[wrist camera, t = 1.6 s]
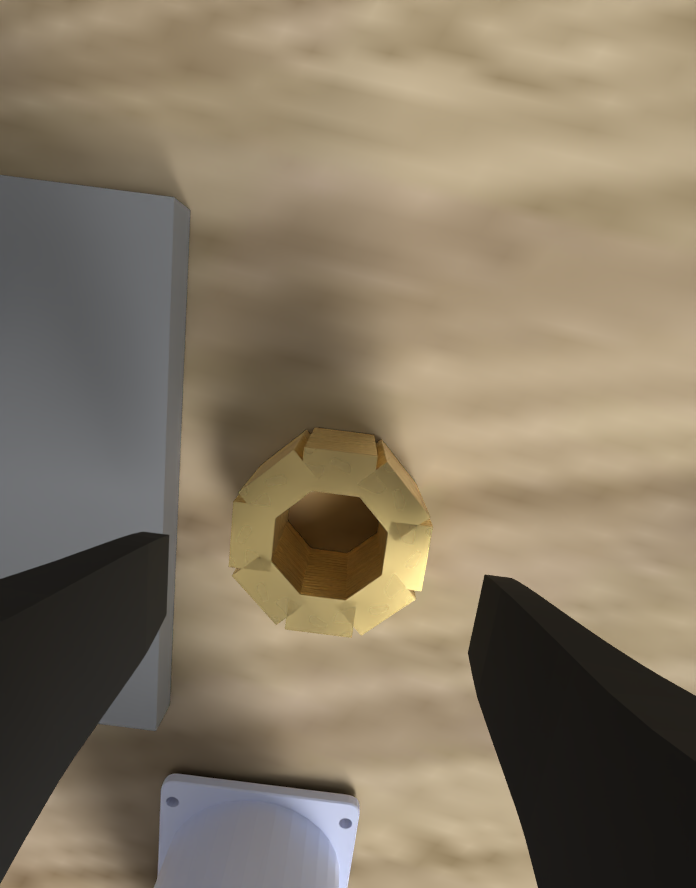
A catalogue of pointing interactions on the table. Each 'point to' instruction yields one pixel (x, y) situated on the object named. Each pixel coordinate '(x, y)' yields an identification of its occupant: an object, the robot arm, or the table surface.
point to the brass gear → (320, 571)
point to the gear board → (92, 387)
